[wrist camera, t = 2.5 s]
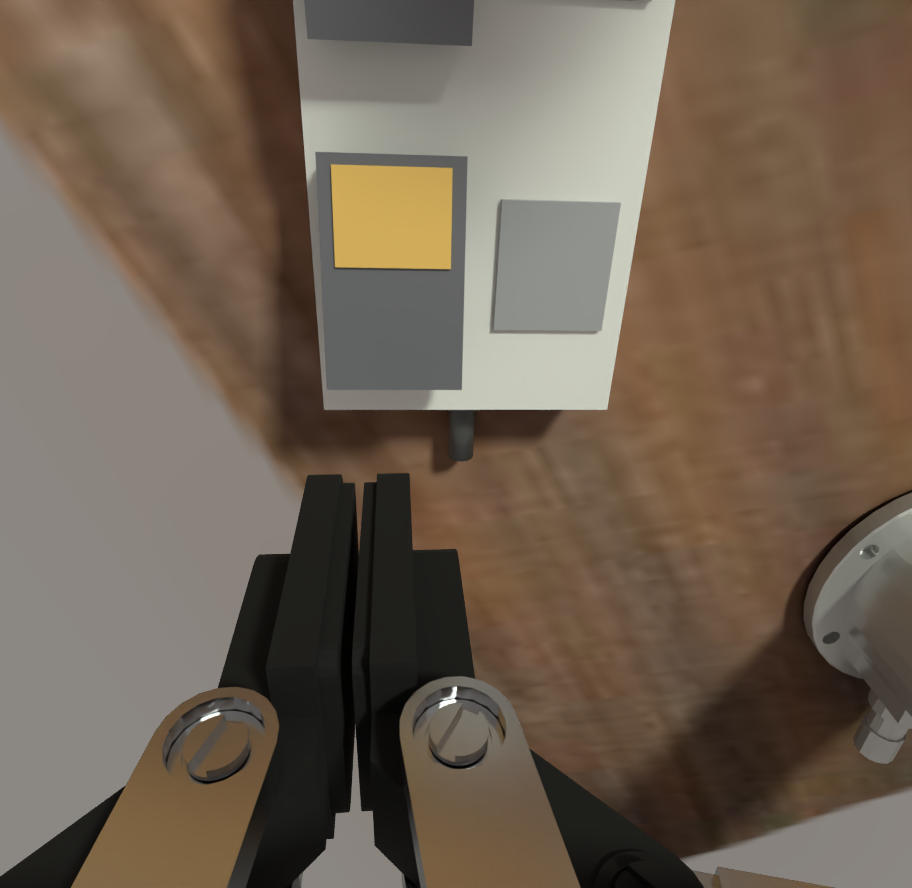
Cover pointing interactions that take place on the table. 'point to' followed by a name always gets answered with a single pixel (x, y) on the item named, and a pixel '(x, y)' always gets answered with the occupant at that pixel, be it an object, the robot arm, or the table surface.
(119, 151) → the table surface
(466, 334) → the power strip
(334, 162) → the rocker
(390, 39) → the middle rocker
